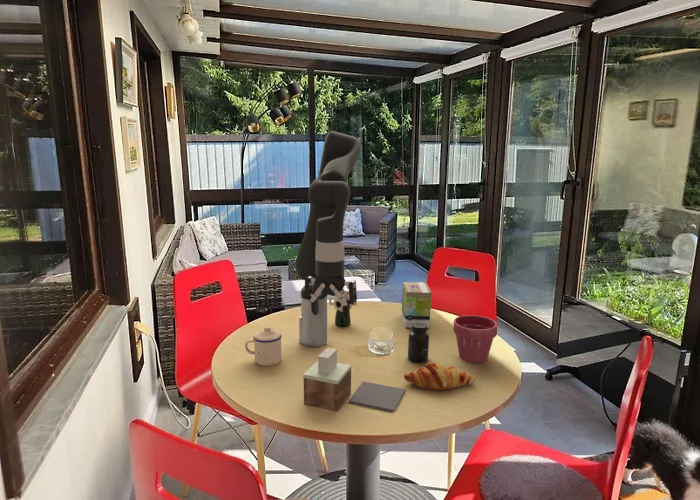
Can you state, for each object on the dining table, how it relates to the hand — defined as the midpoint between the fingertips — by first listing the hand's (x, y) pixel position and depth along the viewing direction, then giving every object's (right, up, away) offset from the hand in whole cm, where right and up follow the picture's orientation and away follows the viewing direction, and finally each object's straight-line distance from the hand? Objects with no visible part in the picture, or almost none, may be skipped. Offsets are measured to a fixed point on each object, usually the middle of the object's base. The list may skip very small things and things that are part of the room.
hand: (330, 316), depth 130 cm
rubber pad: (+13, -24, +7) cm, 28 cm away
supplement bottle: (+28, -19, +31) cm, 46 cm away
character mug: (+2, -12, +61) cm, 63 cm away
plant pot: (+47, -19, +32) cm, 60 cm away
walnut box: (-1, -24, +5) cm, 25 cm away
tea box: (+32, -11, +65) cm, 73 cm away
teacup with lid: (-23, -19, +29) cm, 42 cm away
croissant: (+32, -23, +14) cm, 42 cm away
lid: (-1, -17, +4) cm, 18 cm away
